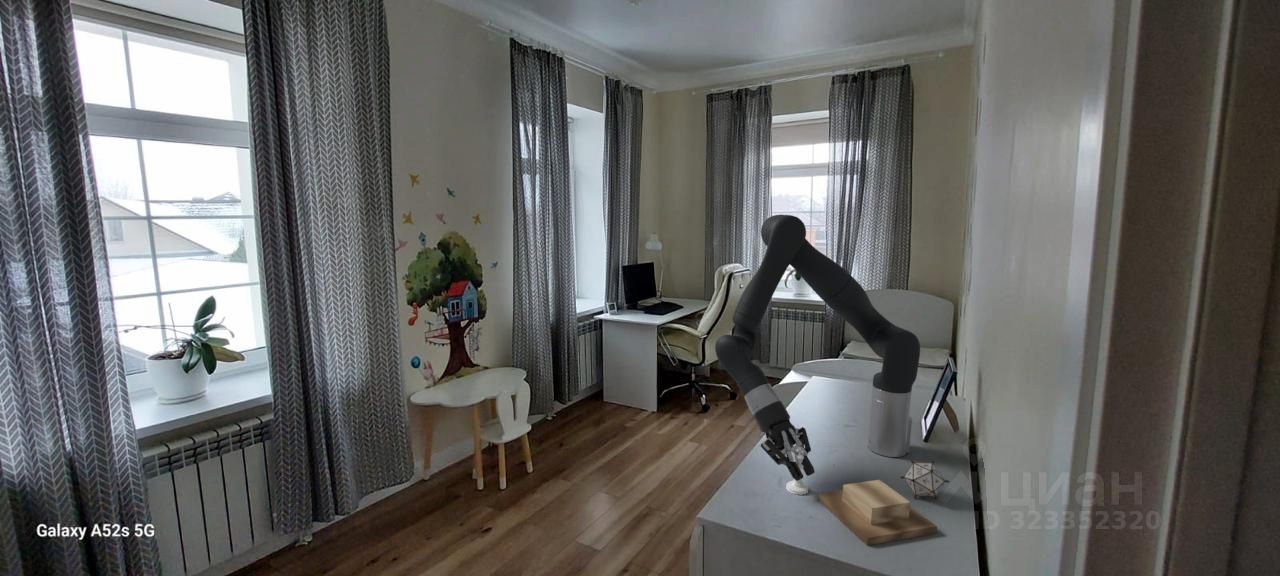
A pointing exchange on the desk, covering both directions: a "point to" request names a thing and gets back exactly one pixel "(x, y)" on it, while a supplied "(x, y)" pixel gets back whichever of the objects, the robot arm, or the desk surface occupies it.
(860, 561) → the desk surface
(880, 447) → the robot arm
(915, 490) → the game die
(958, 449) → the desk surface
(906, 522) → the walnut base
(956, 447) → the desk surface
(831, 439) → the desk surface
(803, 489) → the chess piece
